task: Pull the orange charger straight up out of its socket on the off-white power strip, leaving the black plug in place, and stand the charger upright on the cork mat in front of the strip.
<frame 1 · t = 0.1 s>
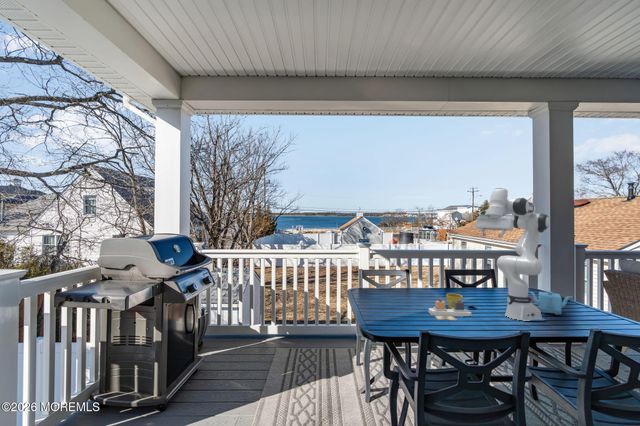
hand: (491, 236, 192), 52 cm above the table, tool tilted 20°, fingers open, 8 cm apart
cork mat: (445, 318, 207), on the table
orange charger: (440, 310, 217), point 2 cm above the table, touching power strip
plant pot: (453, 309, 229), on the table
teakettle: (549, 313, 226), on the table
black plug: (459, 310, 216), point 2 cm above the table, touching power strip
power strip: (449, 314, 216), on the table
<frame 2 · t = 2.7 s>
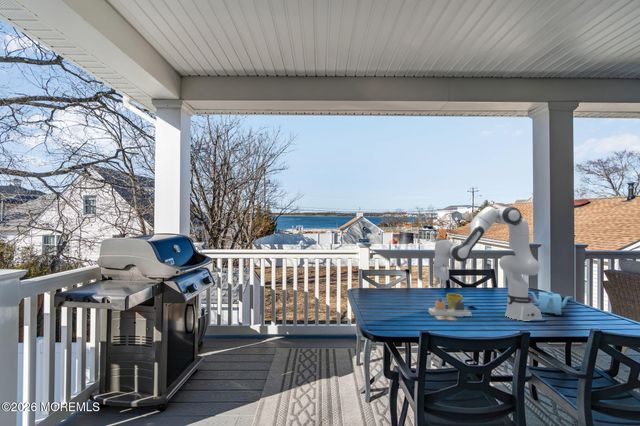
hand: (440, 284, 217), 19 cm above the table, tool pointing down, fingers open, 8 cm apart
nothing on the table moved.
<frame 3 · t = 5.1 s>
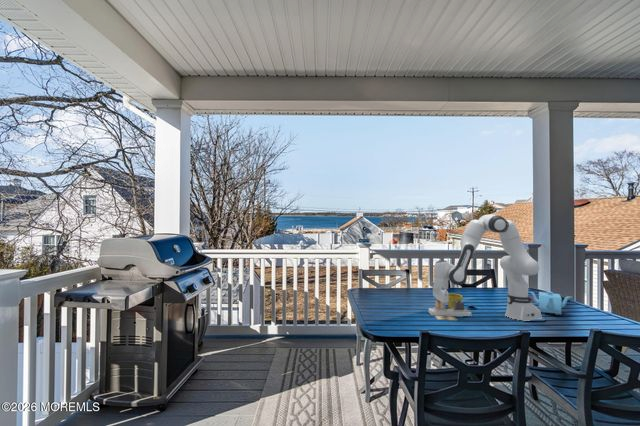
hand: (440, 306, 217), 5 cm above the table, tool pointing down, fingers closed on orange charger, 4 cm apart
orange charger: (440, 310, 217), point 2 cm above the table, touching gripper, power strip
everything else where it was.
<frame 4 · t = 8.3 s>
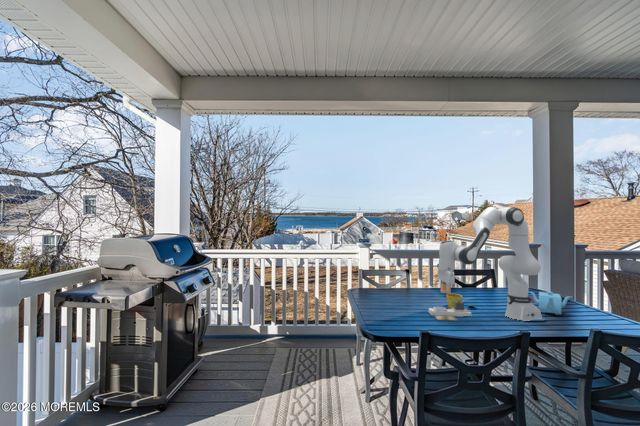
hand: (445, 289, 207), 18 cm above the table, tool pointing down, fingers closed on orange charger, 4 cm apart
orange charger: (445, 292, 207), point 16 cm above the table, touching gripper
everything else where it was.
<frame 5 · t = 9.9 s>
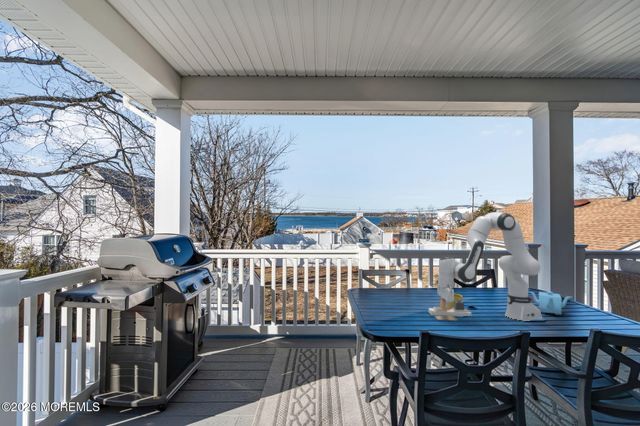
hand: (445, 305, 207), 8 cm above the table, tool pointing down, fingers closed on orange charger, 4 cm apart
orange charger: (444, 309, 207), point 6 cm above the table, touching gripper
everything else where it was.
when the fingers open (4 cm above the table, at t = 11.5 s): orange charger stays where it is, resting on cork mat.
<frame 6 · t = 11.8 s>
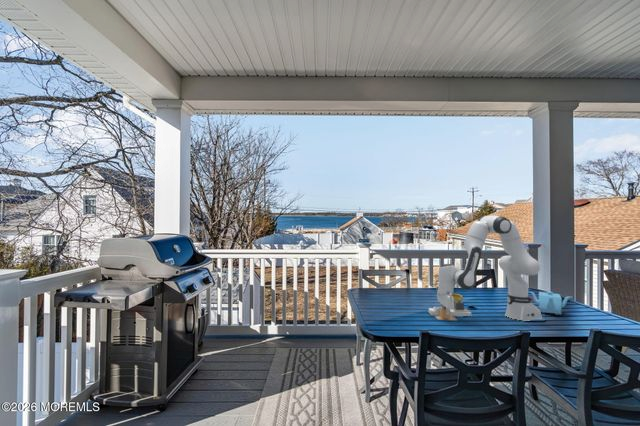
hand: (445, 312, 207), 4 cm above the table, tool pointing down, fingers open, 6 cm apart
orange charger: (445, 317, 207), resting on cork mat
everything else where it was.
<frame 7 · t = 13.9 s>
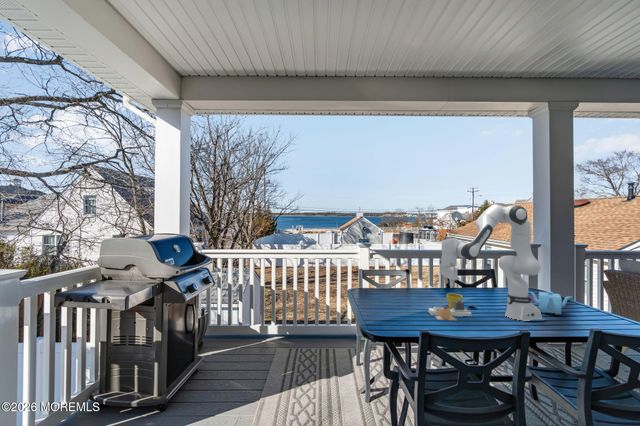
hand: (448, 284, 209), 20 cm above the table, tool pointing down, fingers open, 8 cm apart
nothing on the table moved.
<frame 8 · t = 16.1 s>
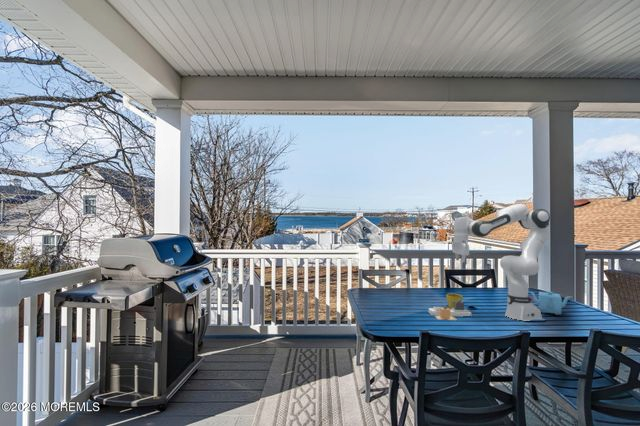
hand: (460, 261, 221), 34 cm above the table, tool pointing down, fingers open, 8 cm apart
nothing on the table moved.
at the end: orange charger inside the target area (0.0 cm from its centre), point 0.5 cm above the table; orange charger tilted 0°; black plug moved 0.0 cm from its start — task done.
